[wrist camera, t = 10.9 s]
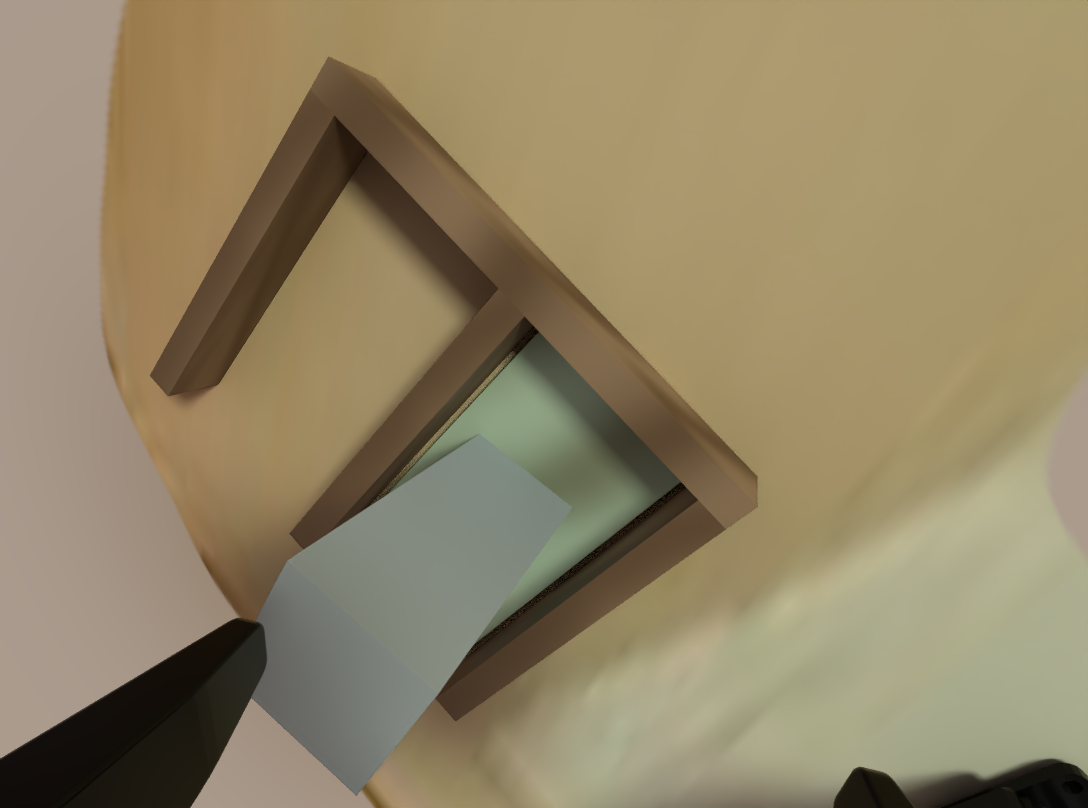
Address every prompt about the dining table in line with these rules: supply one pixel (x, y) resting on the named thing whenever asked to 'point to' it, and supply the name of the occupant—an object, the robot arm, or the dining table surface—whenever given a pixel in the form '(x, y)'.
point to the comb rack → (480, 381)
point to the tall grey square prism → (397, 604)
